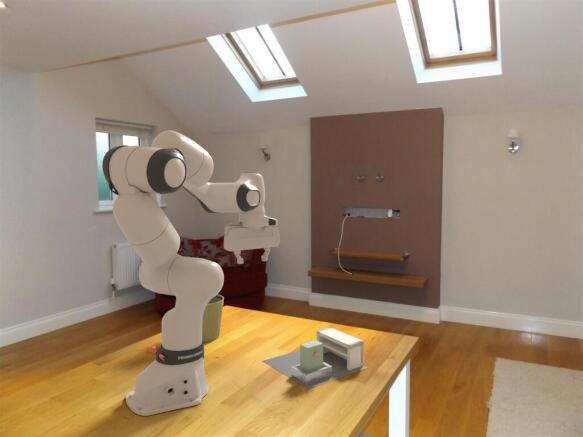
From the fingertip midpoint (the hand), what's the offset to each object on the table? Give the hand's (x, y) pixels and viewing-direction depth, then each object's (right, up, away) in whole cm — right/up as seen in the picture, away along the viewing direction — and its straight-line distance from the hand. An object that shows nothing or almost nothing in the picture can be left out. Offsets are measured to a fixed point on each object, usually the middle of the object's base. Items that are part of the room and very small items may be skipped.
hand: (252, 262), depth 155 cm
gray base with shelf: (+20, -33, -8) cm, 40 cm away
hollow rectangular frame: (+19, -33, -16) cm, 41 cm away
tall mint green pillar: (+19, -33, -16) cm, 41 cm away
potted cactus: (-20, -30, +19) cm, 41 cm away
